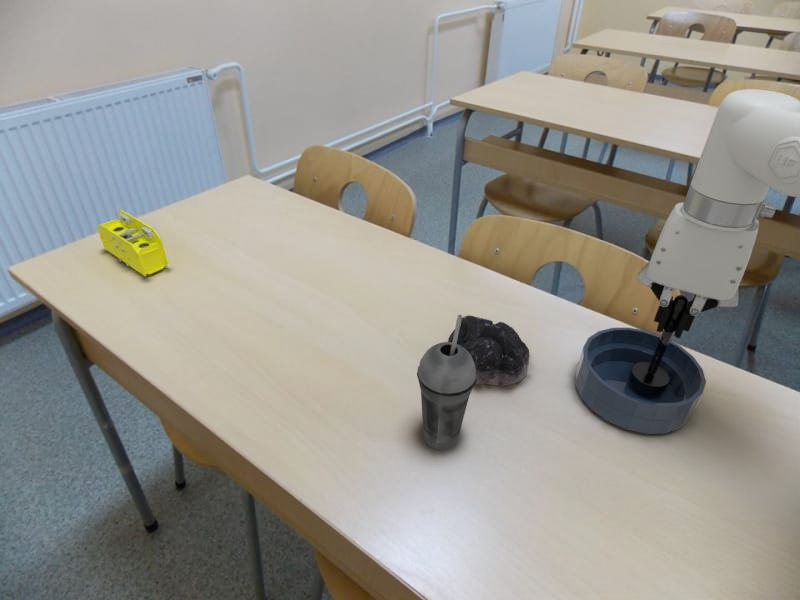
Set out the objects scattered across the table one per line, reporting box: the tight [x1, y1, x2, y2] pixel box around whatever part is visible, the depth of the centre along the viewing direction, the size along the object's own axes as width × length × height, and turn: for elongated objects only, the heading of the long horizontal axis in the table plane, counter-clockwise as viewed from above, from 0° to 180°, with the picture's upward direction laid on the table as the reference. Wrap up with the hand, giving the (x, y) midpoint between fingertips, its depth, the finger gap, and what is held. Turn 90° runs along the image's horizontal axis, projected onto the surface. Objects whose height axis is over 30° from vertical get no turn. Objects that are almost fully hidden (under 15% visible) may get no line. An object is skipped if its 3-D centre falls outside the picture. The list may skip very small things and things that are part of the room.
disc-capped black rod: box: [629, 294, 689, 395], centre depth 72 cm, size 5×5×16 cm
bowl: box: [574, 327, 707, 435], centre depth 75 cm, size 16×16×6 cm
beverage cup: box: [416, 314, 476, 451], centre depth 64 cm, size 7×7×20 cm
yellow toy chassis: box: [96, 209, 170, 277], centre depth 102 cm, size 16×6×8 cm, turn 51°
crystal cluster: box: [447, 315, 530, 387], centre depth 79 cm, size 13×14×10 cm
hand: (669, 328), depth 70 cm, fingers closed on disc-capped black rod
